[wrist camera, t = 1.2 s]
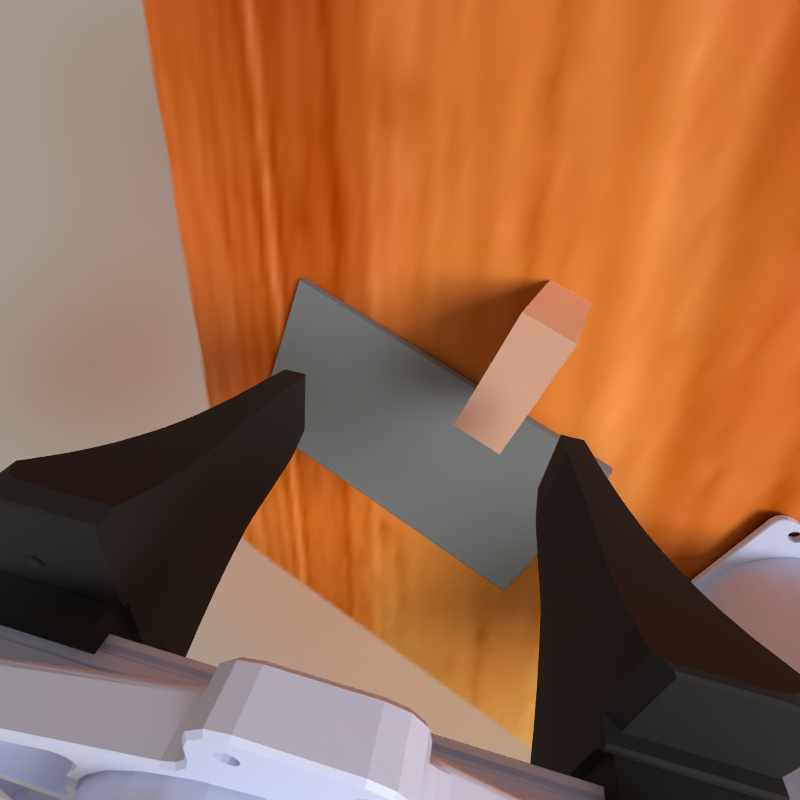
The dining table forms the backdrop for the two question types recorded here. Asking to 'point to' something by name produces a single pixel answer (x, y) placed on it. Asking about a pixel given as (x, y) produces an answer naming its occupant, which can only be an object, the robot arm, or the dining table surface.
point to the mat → (413, 436)
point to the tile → (524, 365)
